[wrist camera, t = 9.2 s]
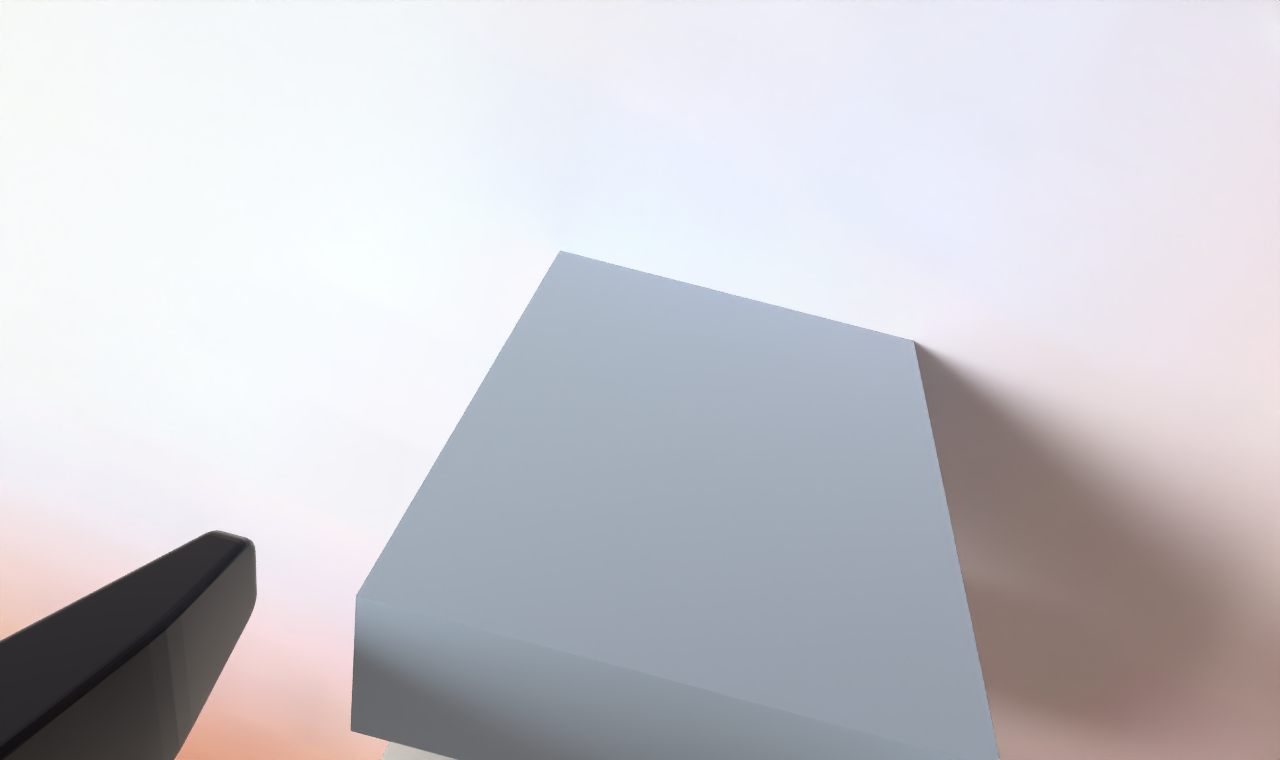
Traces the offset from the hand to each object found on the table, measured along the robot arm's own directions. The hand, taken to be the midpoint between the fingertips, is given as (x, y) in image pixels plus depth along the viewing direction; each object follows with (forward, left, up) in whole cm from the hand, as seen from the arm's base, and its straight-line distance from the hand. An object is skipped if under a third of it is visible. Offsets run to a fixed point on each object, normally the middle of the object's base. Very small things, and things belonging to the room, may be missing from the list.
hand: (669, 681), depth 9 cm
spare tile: (0, 0, -7) cm, 7 cm away
